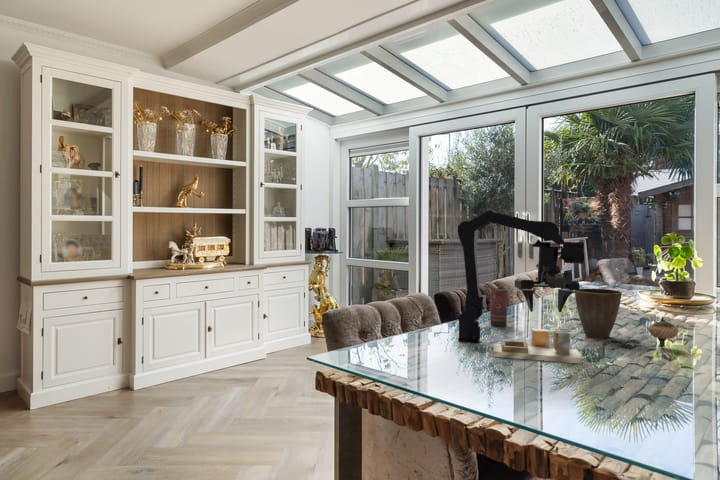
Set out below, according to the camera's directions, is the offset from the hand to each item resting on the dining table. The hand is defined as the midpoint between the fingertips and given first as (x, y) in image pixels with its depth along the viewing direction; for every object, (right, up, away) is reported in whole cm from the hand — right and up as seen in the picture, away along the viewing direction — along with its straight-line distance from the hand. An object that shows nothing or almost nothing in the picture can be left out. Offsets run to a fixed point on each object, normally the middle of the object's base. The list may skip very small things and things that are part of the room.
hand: (545, 311), depth 153 cm
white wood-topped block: (-2, -12, -1) cm, 12 cm away
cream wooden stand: (-6, -12, -9) cm, 16 cm away
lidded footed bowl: (+38, -12, +3) cm, 40 cm away
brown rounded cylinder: (-4, -11, +36) cm, 38 cm away
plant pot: (+25, -12, +19) cm, 33 cm away
